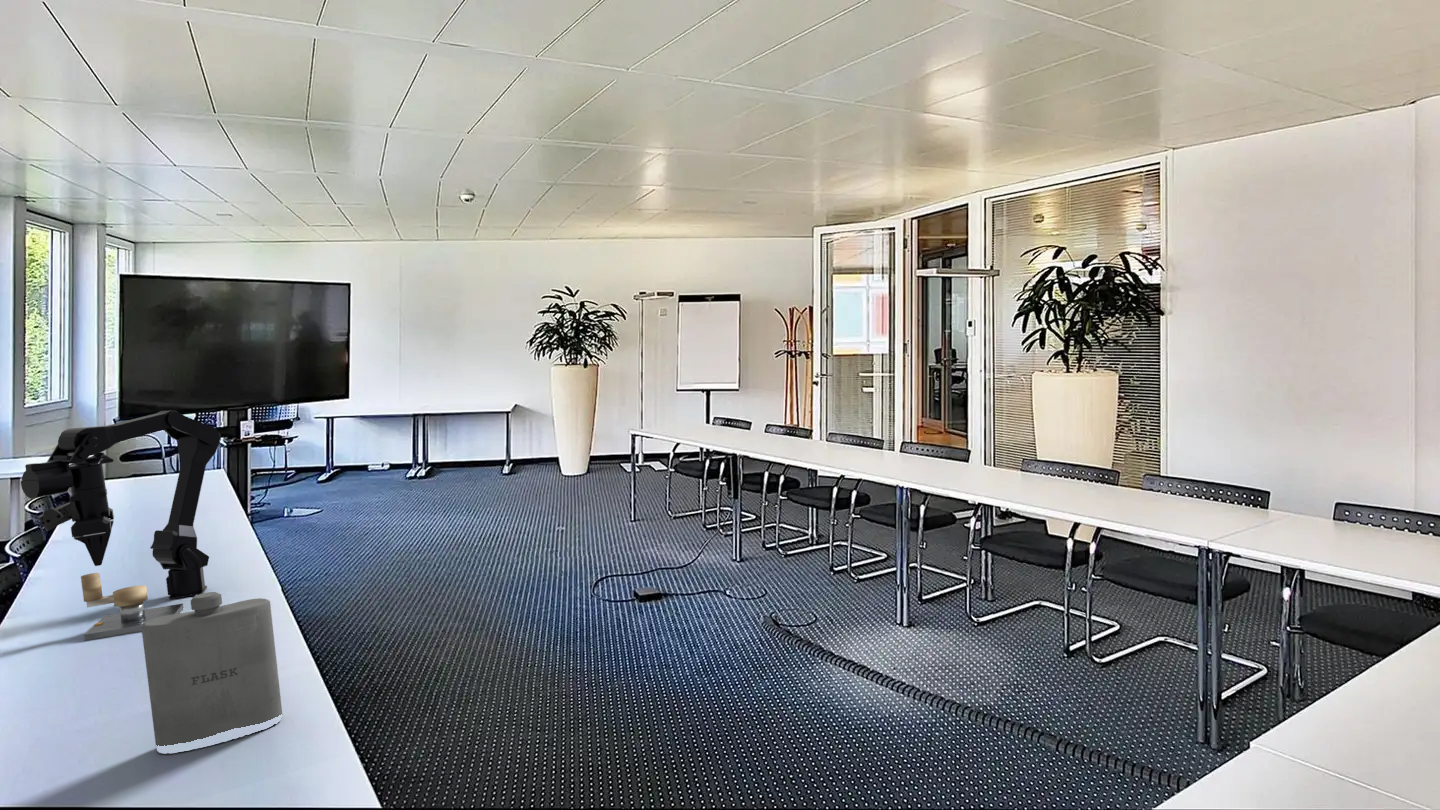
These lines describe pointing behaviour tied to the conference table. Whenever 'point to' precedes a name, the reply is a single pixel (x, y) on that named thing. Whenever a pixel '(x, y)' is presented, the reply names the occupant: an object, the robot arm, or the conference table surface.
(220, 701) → the flask
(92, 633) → the base
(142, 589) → the crank handle
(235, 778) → the conference table surface
